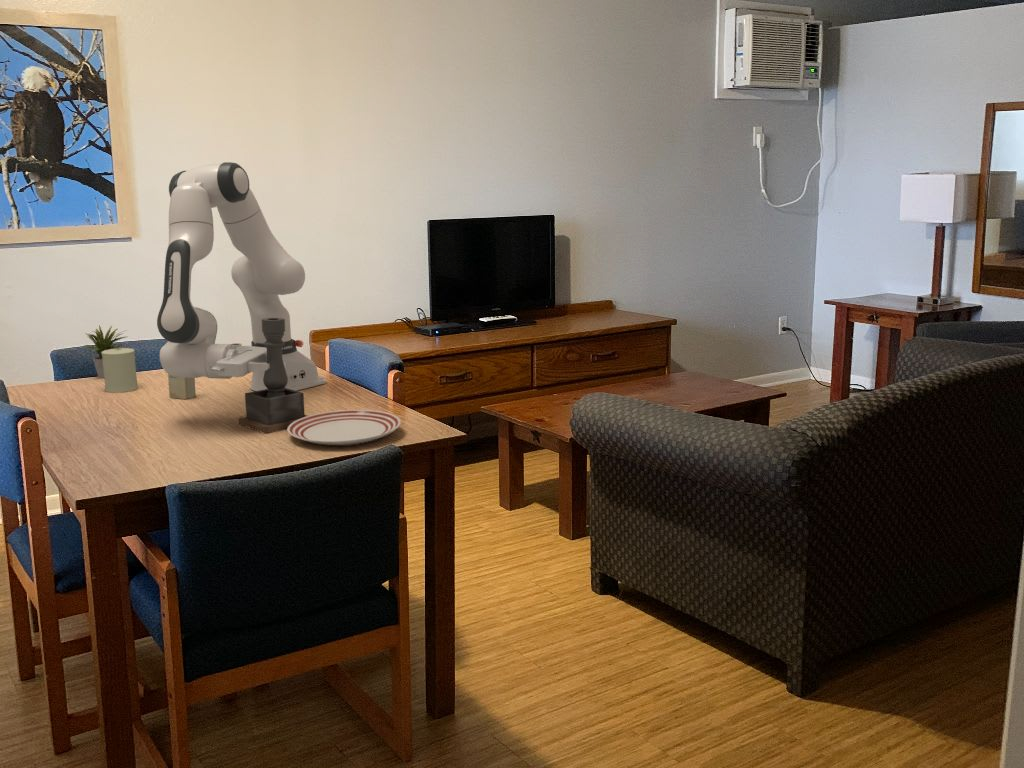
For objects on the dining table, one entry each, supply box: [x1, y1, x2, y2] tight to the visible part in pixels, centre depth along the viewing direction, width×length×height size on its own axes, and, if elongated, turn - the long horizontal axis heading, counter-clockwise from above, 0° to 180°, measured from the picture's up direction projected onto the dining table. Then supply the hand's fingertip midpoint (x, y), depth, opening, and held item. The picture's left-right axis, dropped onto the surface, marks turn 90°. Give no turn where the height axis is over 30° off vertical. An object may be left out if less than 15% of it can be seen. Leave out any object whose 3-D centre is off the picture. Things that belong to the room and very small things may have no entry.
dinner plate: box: [286, 409, 402, 446], centre depth 246 cm, size 27×27×3 cm
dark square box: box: [237, 388, 308, 434], centre depth 257 cm, size 14×13×8 cm
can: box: [101, 347, 139, 393], centre depth 297 cm, size 9×9×12 cm
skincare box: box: [167, 373, 196, 400], centre depth 286 cm, size 6×4×12 cm
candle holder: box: [262, 318, 288, 399], centre depth 257 cm, size 6×6×25 cm
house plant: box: [83, 324, 129, 379], centre depth 313 cm, size 14×14×16 cm
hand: (275, 362), depth 254 cm, fingers open, 8 cm apart
